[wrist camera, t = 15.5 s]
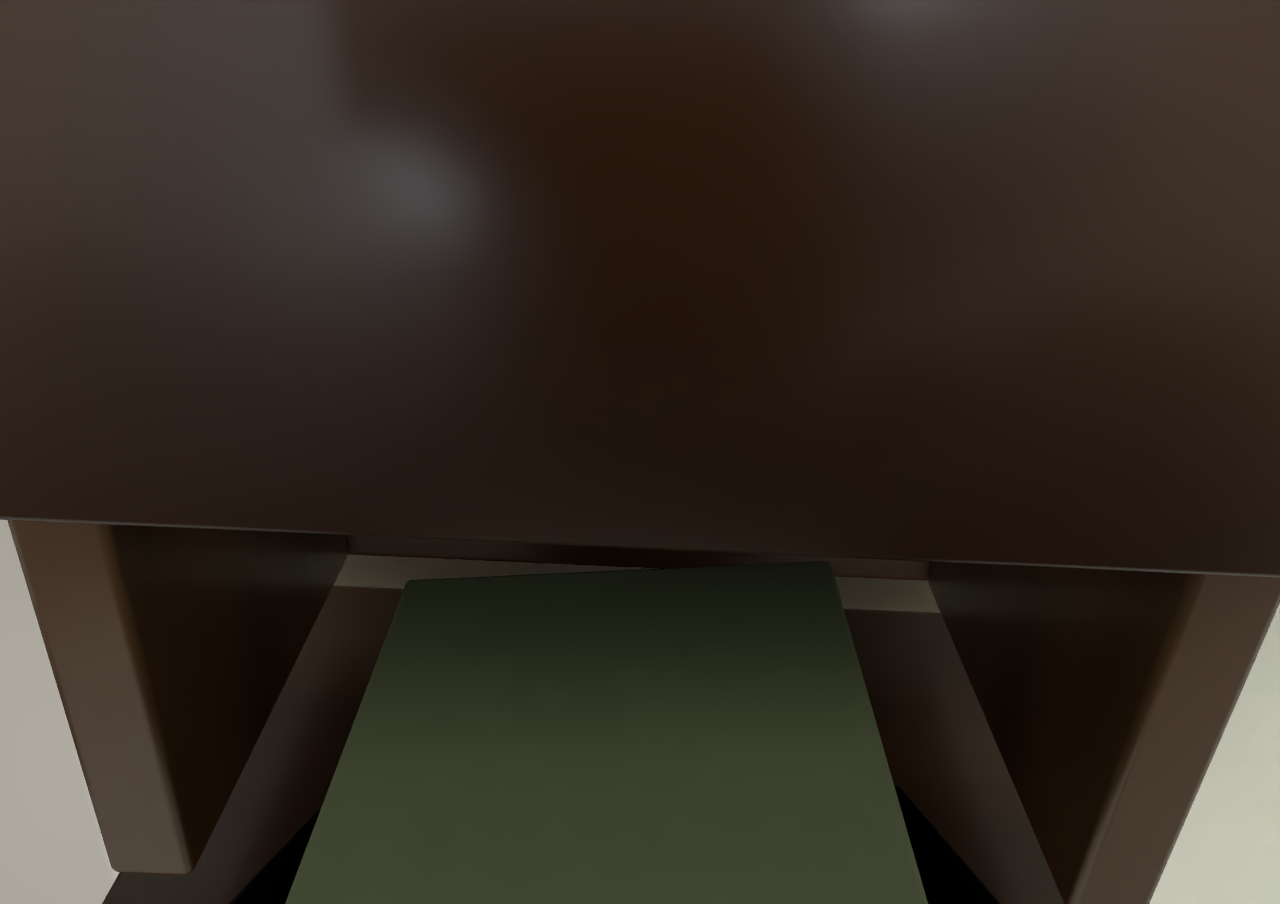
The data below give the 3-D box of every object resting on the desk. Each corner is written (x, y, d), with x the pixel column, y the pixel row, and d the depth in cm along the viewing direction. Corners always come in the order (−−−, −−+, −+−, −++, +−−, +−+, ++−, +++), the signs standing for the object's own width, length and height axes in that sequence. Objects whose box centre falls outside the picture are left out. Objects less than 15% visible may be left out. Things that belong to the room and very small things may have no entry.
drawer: (920, 862, 19) (1047, 1302, 13) (321, 837, 19) (162, 1270, 13) (1236, -341, 10) (2074, -730, 4) (134, -403, 10) (-637, -902, 4)
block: (466, 868, 11) (382, 1301, 8) (405, 577, 9) (255, 974, 6) (820, 856, 11) (901, 1292, 7) (830, 558, 9) (945, 953, 6)
